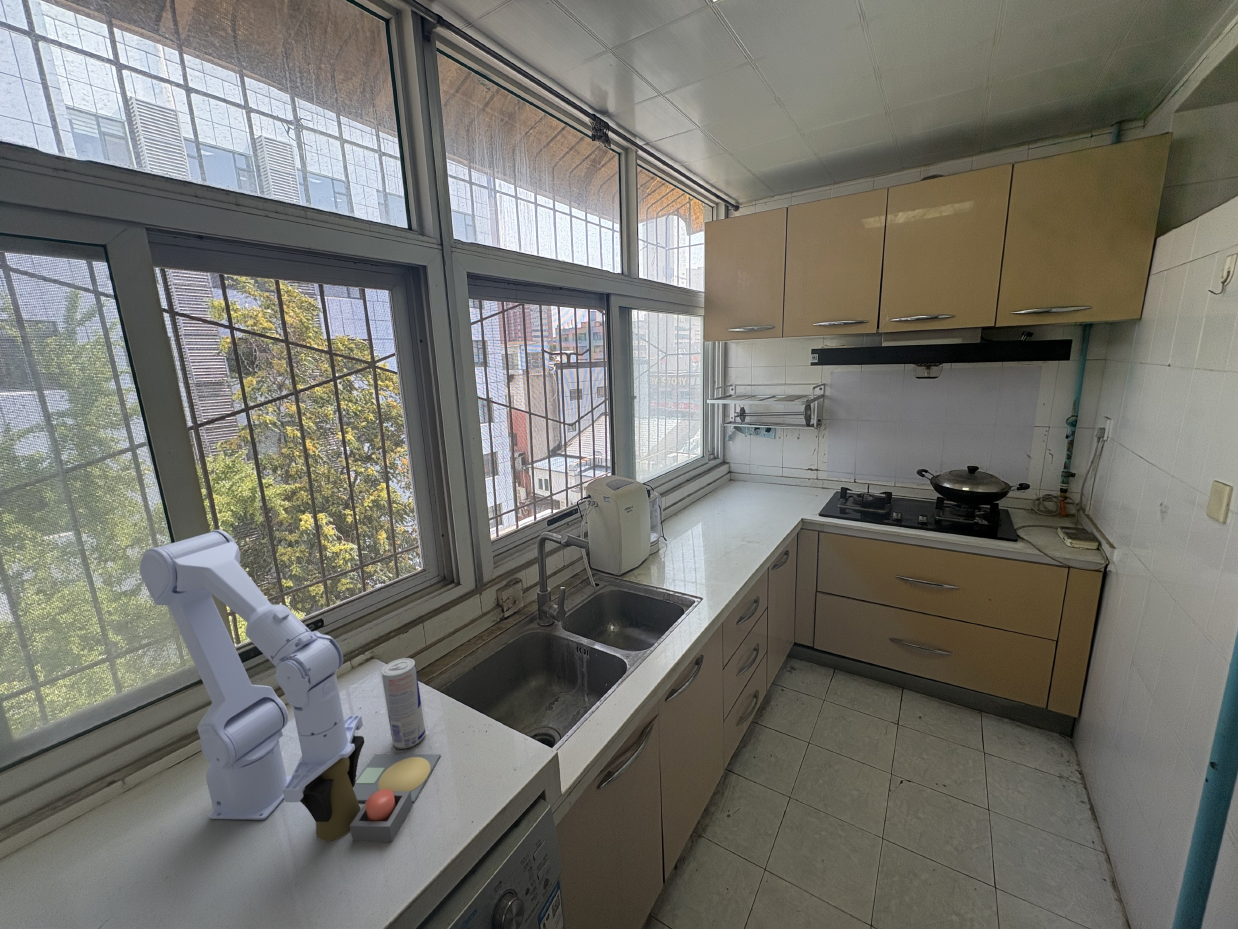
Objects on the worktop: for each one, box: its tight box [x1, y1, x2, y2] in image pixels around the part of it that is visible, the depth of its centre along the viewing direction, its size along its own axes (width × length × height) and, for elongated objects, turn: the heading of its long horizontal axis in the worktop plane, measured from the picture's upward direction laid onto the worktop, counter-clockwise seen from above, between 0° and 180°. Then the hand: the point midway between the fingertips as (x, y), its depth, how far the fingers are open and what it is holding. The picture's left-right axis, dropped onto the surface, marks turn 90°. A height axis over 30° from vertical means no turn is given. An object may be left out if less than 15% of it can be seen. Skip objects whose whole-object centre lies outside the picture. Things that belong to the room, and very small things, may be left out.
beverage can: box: [381, 657, 426, 750], centre depth 89 cm, size 6×6×15 cm
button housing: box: [350, 791, 413, 843], centre depth 73 cm, size 6×6×3 cm
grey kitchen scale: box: [353, 753, 441, 804], centre depth 81 cm, size 12×10×1 cm
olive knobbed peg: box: [315, 757, 362, 842], centre depth 72 cm, size 6×6×11 cm
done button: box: [365, 789, 396, 821], centre depth 72 cm, size 4×4×2 cm
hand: (335, 802), depth 73 cm, fingers open, 5 cm apart
